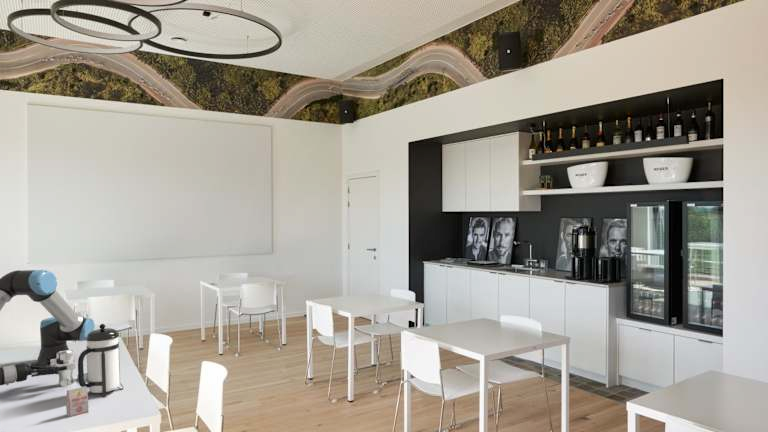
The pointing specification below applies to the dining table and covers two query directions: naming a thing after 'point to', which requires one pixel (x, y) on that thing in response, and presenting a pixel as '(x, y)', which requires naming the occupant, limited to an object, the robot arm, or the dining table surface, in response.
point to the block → (85, 377)
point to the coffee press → (101, 361)
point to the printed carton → (77, 401)
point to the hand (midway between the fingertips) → (70, 362)
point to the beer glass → (66, 376)
